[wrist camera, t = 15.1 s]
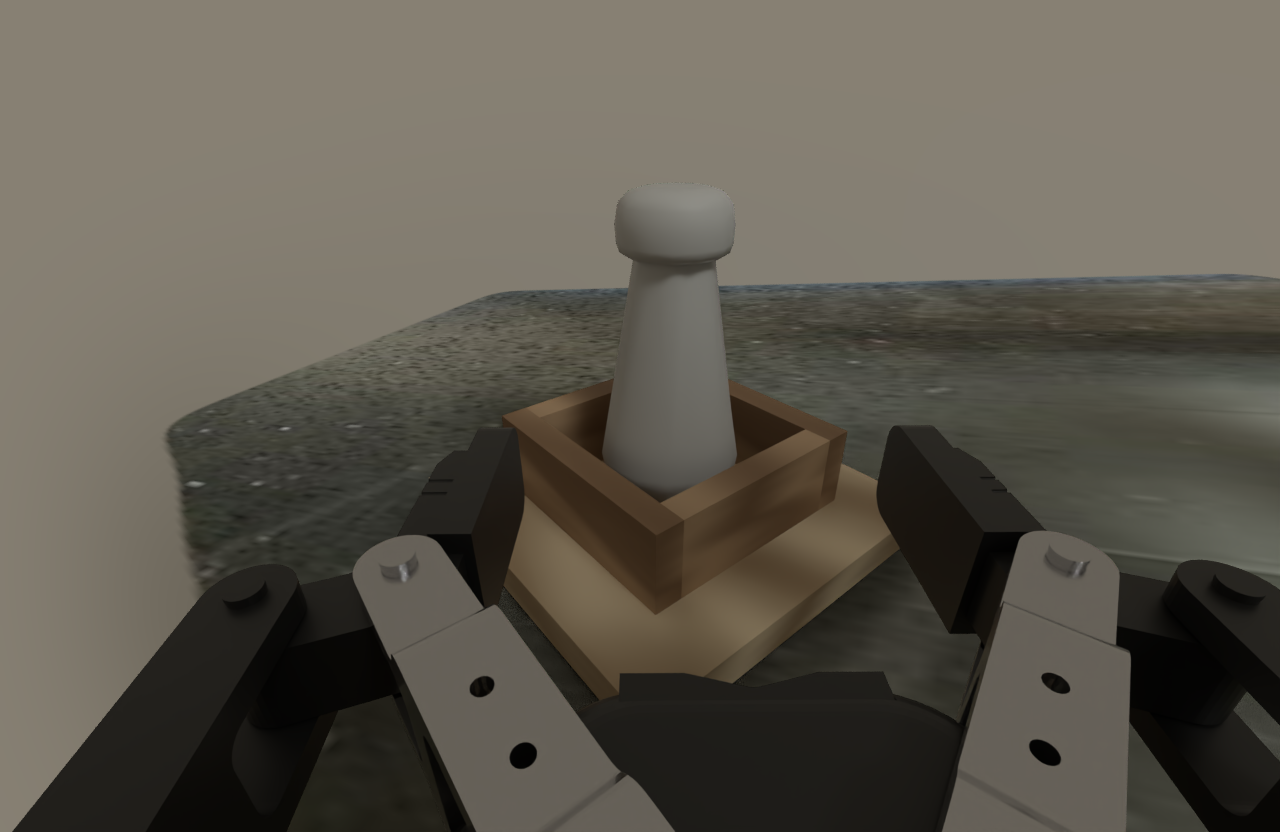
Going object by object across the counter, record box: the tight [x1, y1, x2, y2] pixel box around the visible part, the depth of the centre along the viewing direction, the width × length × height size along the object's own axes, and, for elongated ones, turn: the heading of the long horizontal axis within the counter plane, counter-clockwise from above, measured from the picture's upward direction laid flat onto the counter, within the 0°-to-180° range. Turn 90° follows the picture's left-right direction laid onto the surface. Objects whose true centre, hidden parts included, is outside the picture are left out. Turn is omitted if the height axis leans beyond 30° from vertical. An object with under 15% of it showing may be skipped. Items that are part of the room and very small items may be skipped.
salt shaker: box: [602, 183, 737, 503], centre depth 23 cm, size 6×6×13 cm
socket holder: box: [429, 379, 900, 700], centre depth 26 cm, size 16×16×5 cm
